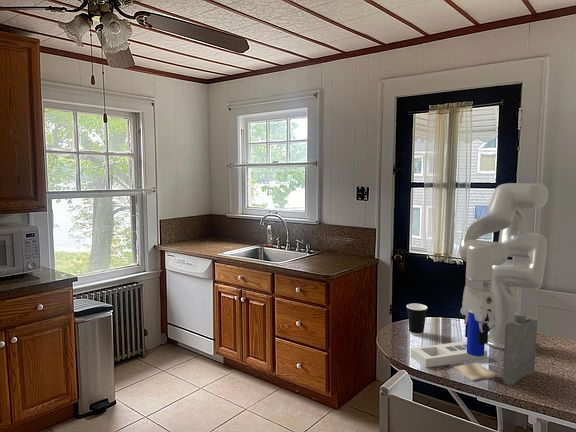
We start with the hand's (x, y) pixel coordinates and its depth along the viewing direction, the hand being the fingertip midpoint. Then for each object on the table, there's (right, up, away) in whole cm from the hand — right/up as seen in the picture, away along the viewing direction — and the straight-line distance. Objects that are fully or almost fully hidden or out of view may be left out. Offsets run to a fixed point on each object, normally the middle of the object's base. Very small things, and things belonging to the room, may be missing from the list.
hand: (476, 339), depth 139 cm
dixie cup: (-9, -8, +35) cm, 37 cm away
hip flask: (+12, -11, -1) cm, 17 cm away
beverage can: (0, -5, 0) cm, 5 cm away
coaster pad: (0, -11, +1) cm, 11 cm away
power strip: (-4, -10, +12) cm, 16 cm away
